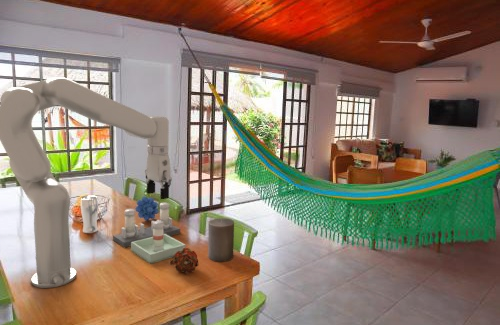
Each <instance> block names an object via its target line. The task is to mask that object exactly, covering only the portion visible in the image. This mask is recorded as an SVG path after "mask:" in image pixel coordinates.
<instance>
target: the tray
mask: <svg viewBox="0 0 500 325" xmlns="http://www.w3.org/2000/svg"><path fill="white" fill-rule="evenodd" d="M163 244H164V250H162V251H158V252H154V251H153V237H150V238H146V239H142V240H138V241H134V242H131V246H130V251H131V252H132V253H133V254H135V255H137V256H138V257H139V258H141V259H142V260H144V261H146V262H147V263H149V264H150V265H152V264H155V263H158V262H161V261H162V262H163V261H165V260H168V259H173V258H172V257H174V254H175V253H176V252H177V251H182V250H183V248H186V244H185V243H183V242H181V241H179V240H178V239H176V238H174V237H172V236H168V235H166V234H164V238H163ZM174 258H175V257H174Z"/></svg>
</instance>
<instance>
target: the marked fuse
mask: <svg viewBox="0 0 500 325" xmlns="http://www.w3.org/2000/svg"><path fill="white" fill-rule="evenodd" d="M153 221H154V222H153V251H154V252H158V251H162V250H164V244H163V238H164V234H163V228H164V222H163V221H157V220H153Z"/></svg>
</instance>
